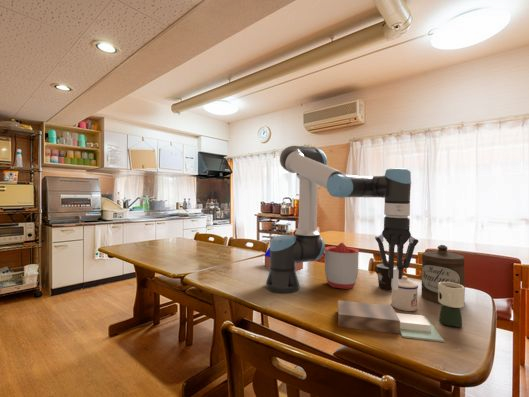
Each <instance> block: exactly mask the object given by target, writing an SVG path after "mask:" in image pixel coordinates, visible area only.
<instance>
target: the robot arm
mask: <svg viewBox="0 0 529 397" xmlns="http://www.w3.org/2000/svg"><path fill="white" fill-rule="evenodd" d="M327 158H328V157H327V156H326V154H325V152H324V151H323V150H322V149H320V148H316V147H311V146H299V145H290V146H287V147H285V148H284V149H283V150H282V151H281V152H280V155H279V163H280V166H281V167H282V168H283V170H285V171H287V172H289V173H290V174H295V173H296V177H297V178H298V179H299V187H298V189H299V194H298V195H299V196H298V198H299V199H298V229H297V230H296V231H295V233H294V235H293V234H281V235H276V236H274V237H272V238H271V239H270V242H269V248H270V268H269V272H268V274H267V278H266V280H265V289H266V290H268V291H269V292H272V293H277V294H278V293H279V294H290V293H295V292H297V291H298V290H299V289H300V282H299V278H298V275H297V271H295V265H296V263H300V262H303V263H306V262H307V263H308V262H314V261H317V260H320V259H321V258H322V256H324V253H325V247H326V244H325V242H324V239H323V238H322V237H321V236H320V235H321V233H320V232H319V231H318V229H317V228H318V224H317V223H318V195H319V194H318V193H319V192H318V191H319V190H318V188H319V187H318V185H319V186H321V187H323V188H324V189H326V191H327V192H328V193H329V195H330V196H331V197H334V198H340V199H343V198H382V199H384V209H383V210H384V211H383V213H384V217H383V230H382V232H381V234H379V235H378V236H376V235H375V236H374V240H375V241H376V242H377V245H378V250H379V253H380V258H381V264H383V265H384V266H385V267H388V268H389V270H388V276H389V278H391V279H392V282H391V287H392V289H393V290H398V279H402V276H403V270H404V269H408V268H409V267H410V264H411V261H412V257H413V254H414V250H415V247H416V246H417V244H418V243H419V240H418V239H417V238H416V237H413V236H412V233H411V231H410V227H411V226H410V225H411V222H410V221H411V220H410V217H409V216H410V215H411V187H412V178H411V177H412V176H411V170H410V169H409V168H387V169H386V170H385V173H384V175H360V174H359V175H358V174H357V175H356V174H355V175H354V174H348V173H345V172H343V171H340V170H339V169H336V168H334V167H332V166H329V165H327V164H328V159H327ZM384 240H385V241H386V242H387V243H388V260H387V256H386V255H387V254H386V251H385V246H384V243H383V242H384ZM407 242H408V245H407V249H406V251H405V255H404V245H405V244H406V243H407ZM395 247H396V248H395ZM395 249H396V267H397V268H394V266H395Z"/></svg>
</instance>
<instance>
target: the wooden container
mask: <svg viewBox="0 0 529 397" xmlns="http://www.w3.org/2000/svg"><path fill="white" fill-rule="evenodd" d="M437 249H438V250H437V251H435V250H434V251H432V250H431V251H423V252H422V254H421V260H422V263H421V264H422V266H421V296H422V298H424V299H425V300H427V301H430V302H433V303H436V304H441V303H440V302H438V283H439V282H452V283H457V284H460V285H462V286H464V300H465V291H466V289H465V288H466V287H465V286H466V285H465V284H466V283H465V282H466V280H465V278H466V277H465V256H463V255H461V254H458V253H455V252H449V251H447V250H448V246H446V245H444V244H440V245H438V246H437ZM441 305H442V304H441Z"/></svg>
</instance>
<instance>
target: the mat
mask: <svg viewBox="0 0 529 397" xmlns="http://www.w3.org/2000/svg"><path fill="white" fill-rule="evenodd" d="M424 317H425V319H426V320H427V321H428V322H429V324H430V325H431V332H428V331H418V330H408V329H400V335H401V337H402V338H405V339H413V340H422V341H423V340H424V341H432V342H441V343H445V339H443V337H442V336H441V335H440V333H439V332H438V331H437V329H436V328H435V326H434V325H433V324H432V322H431V321H430V320H429V319H428V318H427V317H426V316H424Z"/></svg>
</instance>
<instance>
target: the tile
mask: <svg viewBox="0 0 529 397" xmlns="http://www.w3.org/2000/svg"><path fill="white" fill-rule="evenodd" d="M395 313H396V314H397V316H398V318H399V320H400V329H408V330H418V331H428V332H431V325H430V324H429V322H430V321H429V322H428V321H427V320H426V319H425V317H426V316H424V315H421V314H413V313H412V314H410V313H401V312H400V313H399V312H395Z"/></svg>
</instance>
